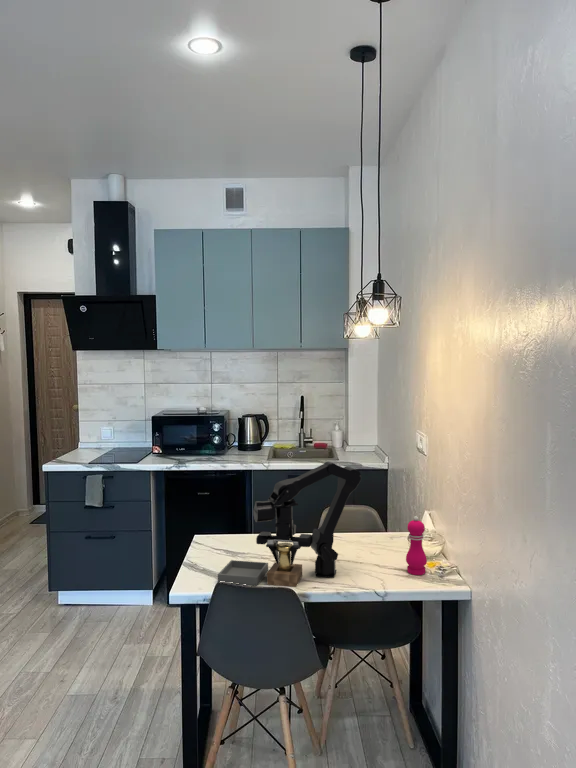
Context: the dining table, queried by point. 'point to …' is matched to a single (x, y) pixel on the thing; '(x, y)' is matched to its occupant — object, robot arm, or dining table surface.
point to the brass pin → (284, 556)
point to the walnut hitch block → (284, 575)
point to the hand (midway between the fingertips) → (284, 563)
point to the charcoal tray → (243, 572)
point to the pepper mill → (416, 548)
